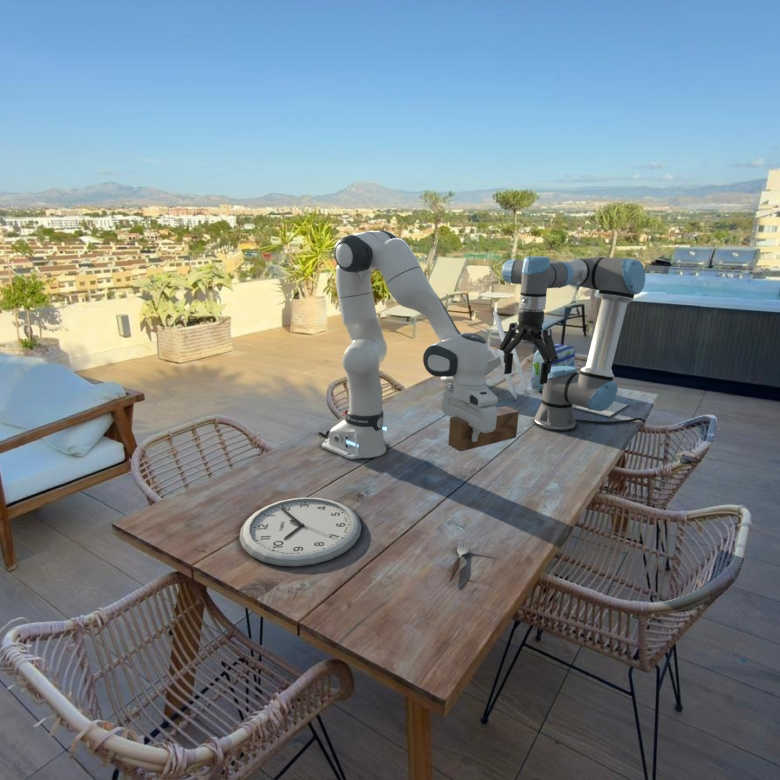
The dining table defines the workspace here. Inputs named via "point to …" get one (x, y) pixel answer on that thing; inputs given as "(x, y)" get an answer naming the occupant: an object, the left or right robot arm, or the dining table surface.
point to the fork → (461, 551)
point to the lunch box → (564, 359)
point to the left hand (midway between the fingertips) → (465, 436)
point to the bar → (462, 432)
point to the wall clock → (300, 532)
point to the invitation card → (609, 411)
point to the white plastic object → (499, 363)
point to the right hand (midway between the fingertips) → (525, 378)
